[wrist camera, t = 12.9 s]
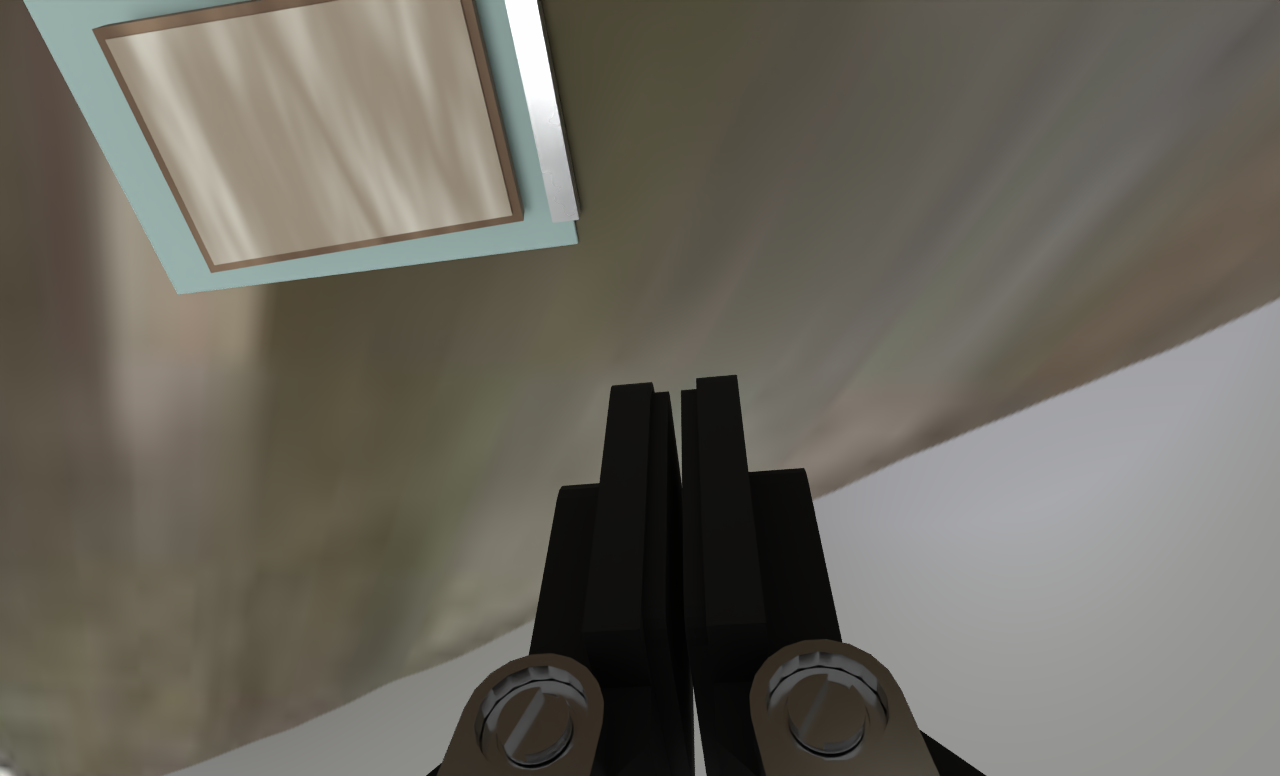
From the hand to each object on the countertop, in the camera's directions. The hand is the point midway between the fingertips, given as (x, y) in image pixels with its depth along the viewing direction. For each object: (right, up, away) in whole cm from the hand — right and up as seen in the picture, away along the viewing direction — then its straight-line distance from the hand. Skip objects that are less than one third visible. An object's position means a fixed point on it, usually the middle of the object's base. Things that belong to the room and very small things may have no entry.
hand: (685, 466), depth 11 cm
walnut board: (-7, +13, +21) cm, 26 cm away
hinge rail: (-5, +14, +22) cm, 27 cm away
